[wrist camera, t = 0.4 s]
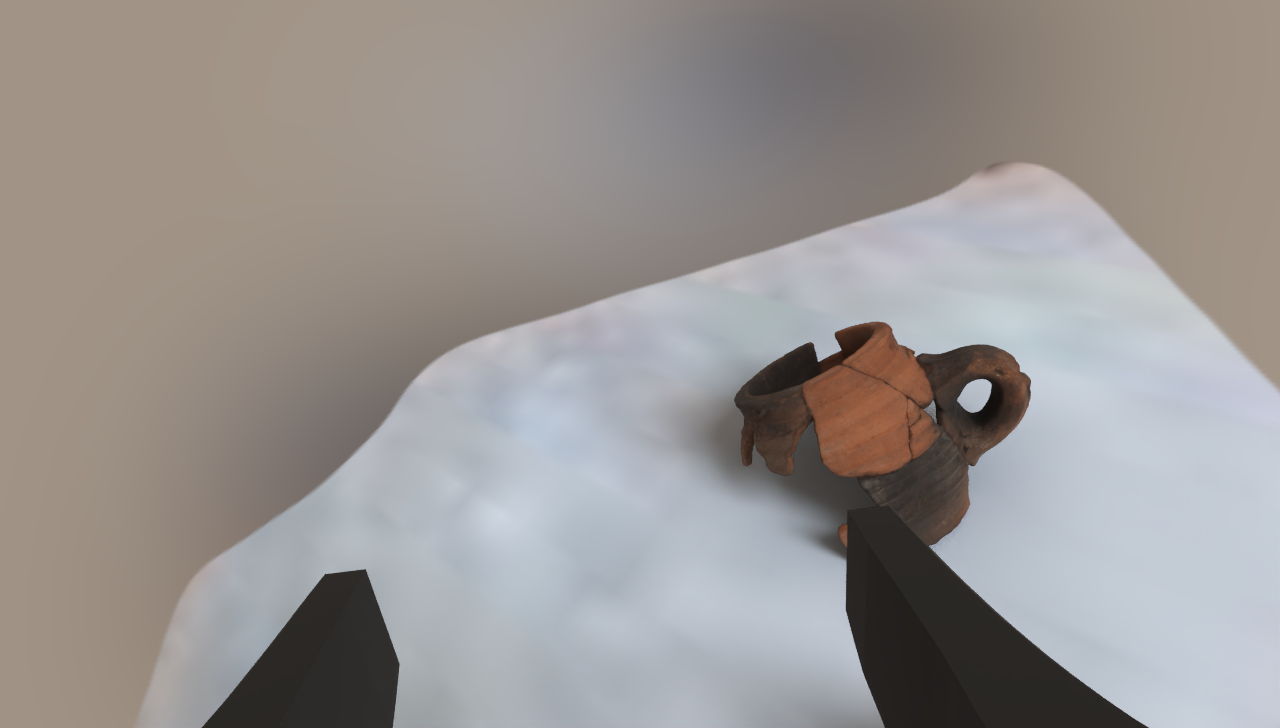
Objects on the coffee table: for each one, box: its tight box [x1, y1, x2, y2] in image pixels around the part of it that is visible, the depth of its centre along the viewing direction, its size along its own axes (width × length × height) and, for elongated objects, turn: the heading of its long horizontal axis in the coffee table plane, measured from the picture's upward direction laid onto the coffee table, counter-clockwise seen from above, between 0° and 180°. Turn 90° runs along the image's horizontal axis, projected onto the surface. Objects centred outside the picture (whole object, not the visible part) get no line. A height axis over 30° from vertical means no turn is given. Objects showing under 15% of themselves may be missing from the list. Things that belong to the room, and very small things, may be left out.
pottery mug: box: [734, 322, 1031, 547], centre depth 38 cm, size 12×10×8 cm
